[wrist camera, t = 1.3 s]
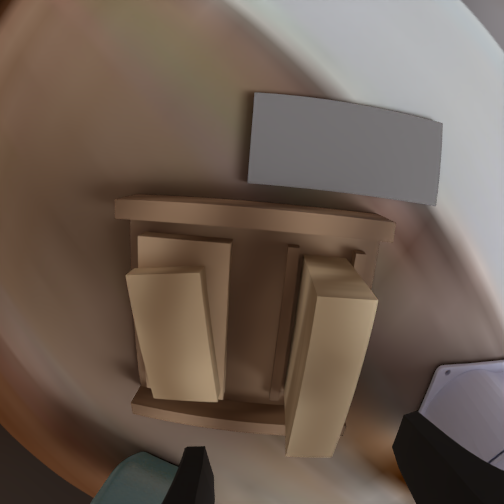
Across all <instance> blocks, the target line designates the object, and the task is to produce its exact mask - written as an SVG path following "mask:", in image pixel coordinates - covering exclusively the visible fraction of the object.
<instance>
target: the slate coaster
mask: <svg viewBox="0 0 504 504" xmlns="http://www.w3.org/2000/svg"><path fill="white" fill-rule="evenodd" d="M442 128H443V123H440V122H436V121H433V120H429V119H425V118H421V117H417V116H413V115H409V114H404V113H400V112H395V111H391V110H386V109H381V108H376V107H370V106H365V105H359V104H353V103H347V102H341V101H334V100H327V99H320V98H312V97H303V96H293V95H283V94H271V93H256V92H255V94H254V107H253V119H252V132H251V144H250V157H249V170H248V183H252V184H264V185H276V186H287V187H297V188H307V189H316V190H325V191H334V192H342V193H350V194H358V195H366V196H373V197H380V198H387V199H394V200H401V201H407V202H413V203H420V204H426V205H432V206H436V202H437V193H438V184H439V174H440V163H441V149H442Z"/></svg>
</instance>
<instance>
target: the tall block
mask: <svg viewBox="0 0 504 504" xmlns="http://www.w3.org/2000/svg"><path fill="white" fill-rule="evenodd" d="M377 305H378V299H377V298H376V296H375V295H374V294H373V292H372V291H371V290H370V288H369V287H368V286H367V284H366V283H365V282H364V280H363V279H362V278H361V277H360V275H359V274H358V273H357V271H356V270H355V269H354V267H353V266H352V265H351V264H350V262H349V261H348V260H347V259H346V258H339V257H328V256H317V255H306V254H303V261H302V269H301V277H300V285H299V293H298V300H297V307H296V314H295V322H294V328H293V335H292V342H291V348H290V355H289V361H288V368H287V374H286V380H285V386H284V403H285V445H286V457H332V455H333V453H334V450H335V448H336V445H337V442H338V439H339V437H340V434H341V431H342V428H343V425H344V423H345V420H346V417H347V414H348V411H349V408H350V405H351V401H352V398H353V395H354V392H355V389H356V385H357V382H358V379H359V375H360V372H361V368H362V365H363V361H364V358H365V354H366V350H367V346H368V343H369V339H370V335H371V331H372V327H373V322H374V318H375V314H376V309H377Z"/></svg>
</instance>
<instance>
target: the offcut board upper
mask: <svg viewBox="0 0 504 504" xmlns="http://www.w3.org/2000/svg"><path fill="white" fill-rule="evenodd" d="M126 281H127V287H128V292H129V297H130V302H131V307H132V312H133V317H134V322H135V326H136V331H137V335H138V340H139V344H140V348H141V352H142V356H143V360H144V364H145V368H146V372H147V376H148V379H149V383H150V387H151V390H152V394H153V397H154V398H156V399H167V400H181V401H199V402H218V399H219V394H220V383H219V376H218V369H217V362H216V355H215V348H214V340H213V333H212V325H211V317H210V309H209V300H208V292H207V283H206V274H205V266H182V267H155V268H134V269H133V270H131V271H130V272H129V273H127V274H126Z"/></svg>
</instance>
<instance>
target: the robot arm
mask: <svg viewBox="0 0 504 504" xmlns="http://www.w3.org/2000/svg"><path fill="white" fill-rule="evenodd" d="M447 370H448V371H447ZM446 371H447V372H446ZM445 372H446V373H445ZM392 448H393V451H394V454H395V458H396V461H397V464H398V467H399V469H400V471H401V473H402V476H403V478H404V480H405V482H406V484H407V486H408V488H409V490H410V492H411V494H412V496H413V498H414V500H415V502H416V504H504V360H498V361H488V362H478V363H466V364H452V365H441V366H439V367H438V368H437V369H436V371H435V373H434V376H433V378H432V381H431V383H430V386H429V388H428V391H427V393H426V395H425V398H424V400H423V402H422V404H421V407H420V409H419V411H416V412H413V413H409V414H406V415H404V416H403V419H402V422H401V425H400V427H399V430H398V433H397V436H396V438H395V441H394V443H393V446H392ZM214 502H215V495H214V475H213V472H212V469H211V466H210V462H209V459H208V456H207V452H206V449H205V446H201V447H186V448H185V450H184V453H183V456H182V459H181V462H180V465H179V467H178V470H177V472H176V475H175V477H174V479H173V481H172V484H171V486H170V488H169V490H168V492H167V494H166V496H165V498H164V500H163V502H162V503H161V504H214Z"/></svg>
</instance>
